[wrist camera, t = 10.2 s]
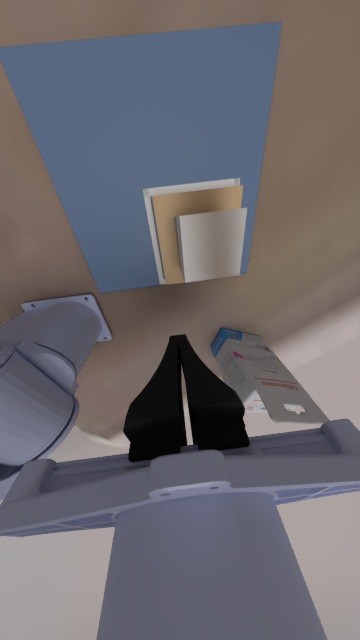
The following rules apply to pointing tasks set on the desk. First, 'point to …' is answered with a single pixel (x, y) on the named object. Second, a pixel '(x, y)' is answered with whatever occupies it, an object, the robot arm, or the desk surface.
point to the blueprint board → (145, 131)
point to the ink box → (262, 379)
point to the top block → (210, 244)
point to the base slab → (187, 205)
